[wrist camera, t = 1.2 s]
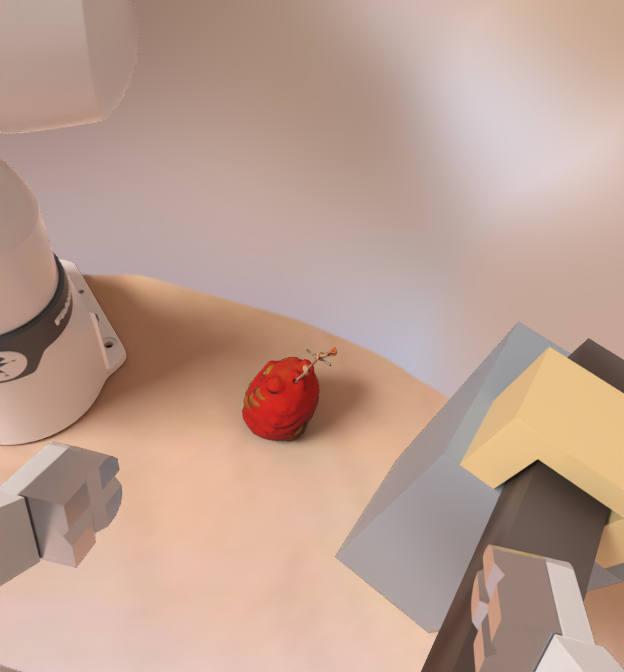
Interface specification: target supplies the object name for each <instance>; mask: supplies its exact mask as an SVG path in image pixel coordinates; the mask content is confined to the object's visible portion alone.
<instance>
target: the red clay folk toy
mask: <svg viewBox="0 0 624 672" xmlns="http://www.w3.org/2000/svg"><path fill="white" fill-rule="evenodd" d="M307 351H308V352H309V353H310V354H312V355H313V356H314V357H315V358H316V359H315V360H314V362H313V363H311V362H310V361H309V360H305V359H304V360H301V359H298V358H297V357H289V358H285V359H282V360H281V361H269V362H268V363H267V364H266V365H265V367H264V368H263V369H262V370H261V371H260V372H259V373H258V375H257V376H256V377H255V379H254V380H253V381H252V382H251V383H250V384H249V387H248V390H247V391H246V395H245V396H246V397H245V399H244V408H243V410H242V413H243V419H244V421H245V422H246V424H247V426H248V427H249V428H250V430H251V431H252V432H253V433H254V434H255V435H257V436H259V437H261V438H264V439H268V440H286V441H292V440H295V439H297V438H298V437H300V436H301V435H302V434H303V433H304V431H305V429H306V426H307V424H308V421H309V420H310V419H311V418H312V416H313V414H314V411H315V409H316V407H317V404H318V400H319V384H318V380H317V377H316V375H315V373H314V366H313V365H314V364H315V363H316V362H317V360H320V361H323V362H325V363H326V364H328V365H330V366H331V363H329V362H327V361H326V360H323V358H325V357H327V356H335V355H336V354H337V350H336V347H335V348H333V349H330V350H329V352H327V353H324V354H323V353H322V352H321V353H318V354H316V355H315V354H313V353H312V352H311V351H310V350H308V349H307Z"/></svg>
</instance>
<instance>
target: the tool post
mask: <svg viewBox="0 0 624 672" xmlns="http://www.w3.org/2000/svg"><path fill="white" fill-rule="evenodd" d="M569 355H571V354H570V353H568V352H567V351H565V350H563V349H562V348H560V347H559V346H557V345H555V344H554V343H552V342H551V341H549V340H547V339H546V338H544V337H543V336H541V335H539V334H538V333H536V332H535V331H533V330H531V329H530V328H528V327H527V326H525V325H523V324H522V323H520V322H518V323H517V324H516V325H515V326H514V328H512V330H511V331H510V332H509V333H508V334H507V335H506V336H505V338H504V339H503V340H502V341H501V342H500V343H499V344H498V345H497V347H496V348H495V349H494V350H493V351H492V352H491V353H490V354H489V356H488V357H487V358H486V359H485V360H484V361H483V362H482V364H481V365H480V366H479V367H478V368H477V369H476V370H475V371H474V373H473V374H472V375H471V376H470V377H469V378H468V379H467V381H466V382H465V383H464V384H463V385H462V386H461V388H460V389H459V390H458V391H457V392H456V393H455V394H454V395H453V396H452V398H451V399H450V400H449V401H448V402H447V403H446V404H445V405H444V407H443V408H442V409H441V410H440V411H439V412H438V413H437V414H436V416H435V417H434V418H433V419H432V420H431V421H430V422H429V424H428V425H427V426H426V427H425V428H424V429H423V430H422V431H421V433H420V434H419V435H418V436H417V437H416V438H415V439H414V441H413V442H412V443H411V444H410V445H409V446H408V447H407V448H406V450H405V451H404V452H403V453H402V454H401V455H400V456H399V458H398V459H397V460H396V461H395V463H394V465H393V466H392V468H391V469H390V471H389V472H388V474H387V476H386V477H385V479H384V480H383V482H382V483H381V485H380V487H379V488H378V490H377V491H376V493H375V494H374V496H373V498H372V499H371V501H370V502H369V504H368V505H367V507H366V509H365V510H364V512H363V513H362V515H361V517H360V518H359V520H358V521H357V523H356V524H355V526H354V528H353V529H352V531H351V532H350V534H349V535H348V537H347V539H346V540H345V542H344V543H343V545H342V546H341V548H340V550H339V551H338V553H337V554H336V556H335V557H336V558H337V559H338V560H340V561H341V562H342V563H343V564H345V565H346V566H347V567H348V568H349V569H351V570H352V571H353V572H354V573H356V574H357V575H358V576H359V577H361V578H362V579H363V580H364V581H365V582H367V583H368V584H369V585H370V586H372V587H373V588H374V589H375V590H377V591H378V592H379V593H380V594H381V595H383V596H384V597H385V598H386V599H388V600H389V601H390V602H391V603H393V604H394V605H395V606H396V607H397V608H399V609H400V610H401V611H402V612H404V613H405V614H406V615H407V616H409V617H410V618H411V619H412V620H413V621H415V622H416V623H417V624H418V625H420V626H421V627H422V628H423V629H425V630H426V631H427V632H428V633H430V632H433V631H437V630H440V628H441V626H442V624H443V621H444V619H445V617H446V615H447V612H448V610H449V608H450V606H451V603H452V601H453V599H454V597H455V594H456V592H457V590H458V588H459V586H460V583H461V581H462V579H463V577H464V574H465V572H466V570H467V568H468V565H469V563H470V561H471V559H472V556H473V554H474V552H475V550H476V547H477V545H478V543H479V541H480V538H481V536H482V534H483V532H484V530H485V527H486V525H487V523H488V521H489V518H490V516H491V514H492V512H493V509H494V507H495V505H496V503H497V500H498V498H499V496H500V494H501V491H502V489H503V487H504V485H505V482H506V480H508V479H509V478H511V477H512V476H514V475H515V474H517V473H518V472H520V471H521V470H522V469H524V468H525V467H527V466H528V465H530V464H531V463H533V462H534V461H536V460H537V459H539V460H540V461H541V462H543V463H544V464H546V465H547V466H549V467H550V468H552V469H553V470H555V471H556V472H557V473H559V474H560V475H562V476H563V477H565V478H566V479H568V480H569V481H571V482H572V483H574V484H575V485H576V486H578V487H579V488H581V489H582V490H584V491H585V492H587V493H588V494H590V495H591V496H592V497H594V498H595V499H597V500H598V501H600V502H601V503H603V504H604V505H606V506H607V507H608V508H609V511H608V515H607V518H606V522H605V526H604V529H603V533H602V537H601V540H600V544H599V547H598V551H597V555H596V558H595V562H594V566H593V569H592V573H591V576H590V580H589V584H588V587H587V591H589V590H593V589H597V588H601V587H605V586H608V585H612V584H616V583H620V582H623V579H624V393H622V392H621V391H619V390H618V389H616V388H614V387H613V386H611V385H610V384H608V383H606V382H605V381H603V380H602V379H600V378H598V377H597V376H595V375H594V374H592V373H591V372H589V371H587V370H586V369H584V368H583V367H581V366H579V365H578V364H576V363H575V362H573V361H571V360H570V359H568V358H567V357H568V356H569Z"/></svg>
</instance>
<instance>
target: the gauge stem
mask: <svg viewBox="0 0 624 672" xmlns="http://www.w3.org/2000/svg"><path fill="white" fill-rule="evenodd" d="M567 358H568V359H570V360H571V361H573V362H575V363H576V364H578V365H579V366H581V367H583V368H584V369H586V370H587V371H589V372H591V373H592V374H594V375H595V376H597V377H598V378H600V379H602V380H603V381H605V382H606V383H608V384H610V385H611V386H613V387H614V388H616V389H618V390H619V391H621V392H622V393H624V360H623V359H621V358H620V357H618V356H616V355H615V354H613V353H612V352H610V351H608V350H607V349H605V348H603V347H602V346H600V345H598V344H597V343H595V342H594V341H592V340H590V339H587V340H586V341H585V342H584V343H583V344H582V345H581V346H579V347H578V348H577V349H576V350H575V351H574V352H573V353H572V354H571V355H569V356H568V357H567ZM608 511H609V508H608V507H607V506H606V505H604V504H603V503H601V502H600V501H598V500H597V499H595V498H594V497H592V496H591V495H590V494H588V493H587V492H585V491H584V490H582V489H581V488H579V487H578V486H576V485H575V484H574V483H572V482H571V481H569V480H568V479H566V478H565V477H563V476H562V475H560V474H559V473H557V472H556V471H555V470H553V469H552V468H550V467H549V466H547V465H546V464H544V463H543V462H541V461H540V460H539V459H537V460H536V461H534V462H533V463H531V464H530V465H528V466H527V467H525V468H524V469H522V470H521V471H520V472H518V473H517V474H515V475H514V476H512V477H511V478H509V479H508V480H506V482H505V485H504V487H503V489H502V491H501V494H500V496H499V498H498V500H497V503H496V505H495V507H494V509H493V512H492V514H491V516H490V518H489V521H488V523H487V525H486V527H485V530H484V532H483V534H482V536H481V538H480V541H479V543H478V545H477V547H476V550H475V552H474V554H473V556H472V559H471V561H470V563H469V565H468V568H467V570H466V572H465V574H464V577H463V579H462V581H461V583H460V586H459V588H458V590H457V592H456V594H455V597H454V599H453V601H452V603H451V606H450V608H449V610H448V612H447V615H446V617H445V619H444V621H443V624H442V626H441V628H440V630H439V633H438V635H437V637H436V639H435V642H434V644H433V646H432V648H431V651H430V653H429V655H428V657H427V659H426V662H425V664H424V666H423V668H422V671H421V672H476V671H475V658H474V645H473V644H474V641H475V638H476V636H477V633H478V630H477V628H476V627H475V625H474V624H473V622H472V613H471V599H472V591H473V585H474V581H475V578H476V575H477V572H478V571H480V570H482V569H484V566H483V555H484V552H485V550H486V548H487V546H488V545H489V544H490V545H494V546H499V547H503V548H508V549H512V550H517V551H521V552H526V553H530V554H535V555H539V556H540V557H542V556H543V557H547V558H552V559H556V560H560V561H565V562H569V563H570V564H571V565H572V567H573V569H574V572H575V575H576V579H577V582H578V586H579V589H580V592H581V596H582V599H583V602H584V598H585V595H586V591H587V587H588V584H589V580H590V576H591V573H592V569H593V566H594V562H595V558H596V555H597V551H598V547H599V544H600V540H601V537H602V533H603V529H604V526H605V522H606V518H607V515H608Z"/></svg>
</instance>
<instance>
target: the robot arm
mask: <svg viewBox="0 0 624 672" xmlns="http://www.w3.org/2000/svg"><path fill="white" fill-rule="evenodd" d="M138 31H139V30H138V19H137V12H136V8H135V2H134V0H0V133H13V134H18V133H25V132H33V131H41V130H49V129H57V128H64V127H70V126H76V125H82V124H88V123H94V122H100V121H103V120H105V119H106V118H107V117H108V116H109V115H110V114H111V113H112V112H113V111H114V109H115V108H116V107H117V106H118V104H119V103H120V102H121V100H122V98H123V97H124V95H125V93H126V92H127V89H128V87H129V85H130V83H131V80H132V77H133V74H134V71H135V67H136V61H137V56H138V44H139V32H138ZM108 345H112V347H111V348H106V346H108ZM126 357H127V355H126V351H125V349H124V347H123V345H122V343H121V342H120V340H119V338H118V336H117V335H116V333H115V331H114V329H113V328H112V326H111V324H110V323H109V321H108V319H107V317H106V316H105V314H104V312H103V311H102V309H101V307H100V305H99V304H98V302H97V300H96V299H95V297H94V295H93V293H92V292H91V290H90V288H89V287H88V285H87V283H86V281H85V280H84V278H83V276H82V275H81V273H80V271H79V269H78V268H77V266H76V265H75V264H74V263H73V262H70V261H66V260H62V259H58V257H57V256H56V255H55V253H54V251H53V250H52V249H51V245H50V242H49V239H48V235H47V233H46V229H45V225H44V222H43V219H42V216H41V212H40V209H39V206H38V202H37V200H36V197H35V195H34V194H33V192H32V190H31V189H30V188H29V186H28V185H27V184H26V182H25V181H24V180H23V179H22V178H21V177H20V175H19V174H18V173H17V172H16V171H15V170H14V169H13V168H12V167H10V166H9V165H8V164H7V163H6V162H5V161H3V160H2V159H0V445H13V444H22V443H28V442H33V441H37V440H40V439H43V438H46V437H48V436H51V435H53V434H55V433H57V432H59V431H61V430H63V429H65V428H66V427H68V426H69V425H71V424H72V423H74V422H75V421H76V420H78V419H79V418H80V417H81V416H82V415H83V414H84V413H85V412H86V411H87V410H88V409H89V408H90V407H91V405H92V404H93V403H94V401H95V400H96V398H97V397H98V395H99V393H100V391H101V389H102V387H103V385H104V383H105V381H106V380H107V378H108V377H109V376H110V375H111V374H112V373H114V372H115V371H116V370H117V369H118V368H119V367H120V366H121V365H122V364H123V363H124V362H125V360H126ZM118 471H119V465H118V459H117V458H115V457H113V456H110V455H106V454H102V453H98V452H95V451H91V450H87V449H83V448H79V447H76V446H70V445H67V444H63V443H59V442H52V443H49V444H47V445H46V446H45V447H44V448H43V449H41V450H40V451H39V452H38V453H37V454H36V455H35V456H34V457H32V458H31V459H30V460H29V461H28V462H27V463H26V464H25V465H24V466H22V467H21V468H20V469H19V470H18V471H17V472H16V473H15V474H14V475H12V476H11V477H10V478H9V479H8V480H7V481H6V482H5V483H3V484H2V485H1V486H0V586H1V585H3V584H4V583H6V582H8V581H9V580H11V579H13V578H14V577H16V576H17V575H19V574H21V573H22V572H24V571H25V570H27V569H29V568H30V567H32V566H34V565H35V564H37V563H38V562H40V559H43V560H47V561H51V562H55V563H59V564H63V565H67V566H71V567H75V568H77V566H78V565H79V564H80V563H81V561H82V560H83V559H84V557H85V556H86V555H87V553H88V552H89V551H90V549H91V548H92V547H93V546H94V544H95V543H96V534H95V533H96V532H98V531H100V530H102V529H104V528H106V527H108V526H109V524H110V523H111V522H112V520H113V519H114V517H115V516H116V514H117V511H118V509H119V507H120V504H121V499H122V486H121V484H120V482H119V481H118V480H117V479H116V477H115V475H116V473H117V472H118ZM483 566H484V569H482V570H480V571H478V572H477V575H476V578H475V581H474V585H473V591H472V599H471V613H472V622H473V624H474V625H475V627H476V628H477V630H478V633H477V636H476V638H475V641H474V644H473V645H474V658H475V671H476V672H624V669H623V668H622V667H621V665H620V664H619V663H618V662H617V661H616V660H615V658H614V657H613V656H612V655H611V654H610V653H609V652H608V650H607V649H606V648H605V647H602V646H599V645H596V643H595V640H594V636H593V633H592V629H591V626H590V623H589V619H588V616H587V613H586V609H585V606H584V602H583V599H582V596H581V592H580V589H579V586H578V582H577V579H576V575H575V572H574V569H573V567H572V565H571V564H570V563H569V562H565V561H560V560H556V559H552V558H547V557H543V556H542V557H540V556H539V555H535V554H530V553H526V552H521V551H517V550H512V549H508V548H503V547H499V546H494V545H490V544H489V545H488V546H487V548H486V550H485V552H484V555H483ZM0 672H21V671H18V670H15V669H12V668H9V667H6V666H3V665H0Z"/></svg>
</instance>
